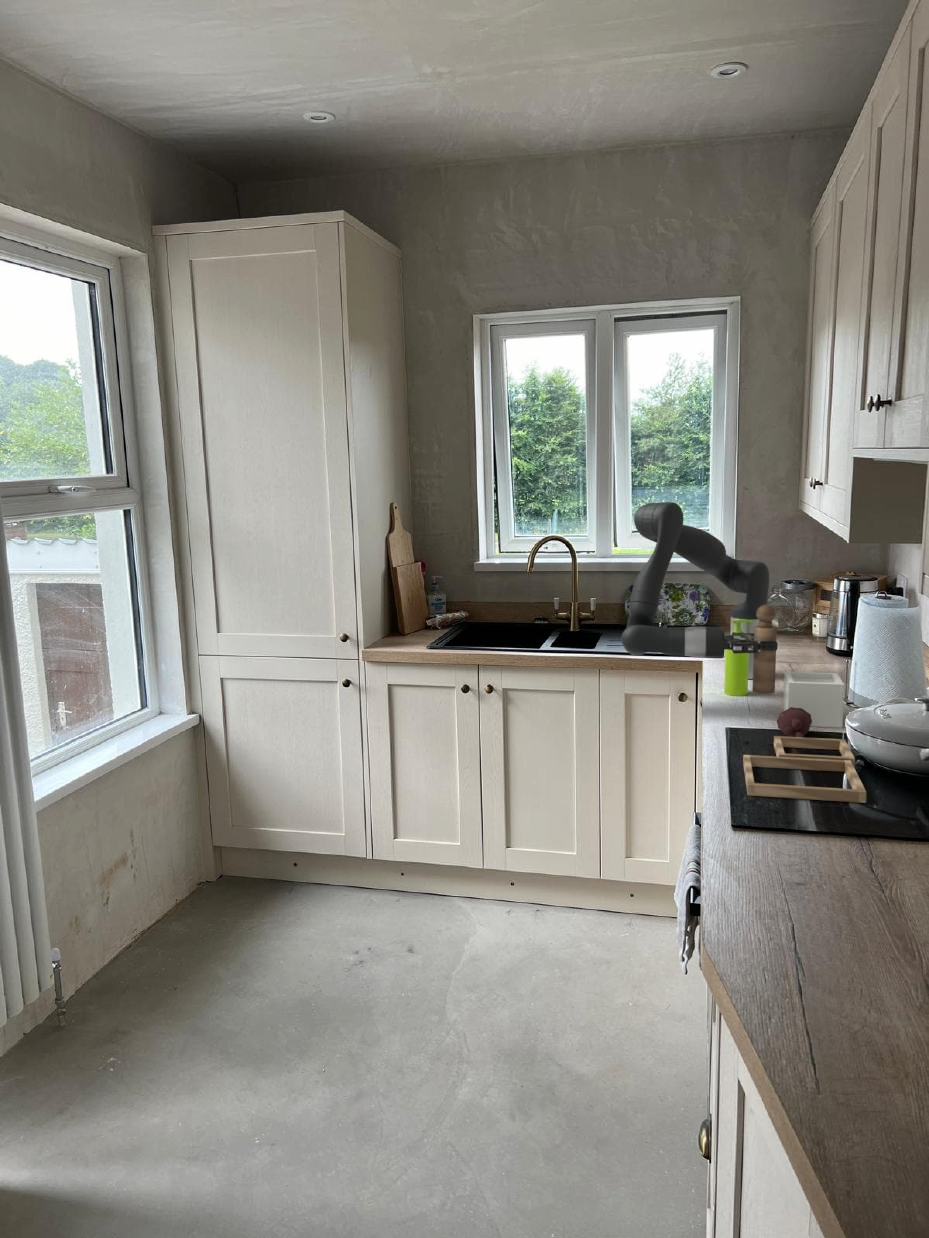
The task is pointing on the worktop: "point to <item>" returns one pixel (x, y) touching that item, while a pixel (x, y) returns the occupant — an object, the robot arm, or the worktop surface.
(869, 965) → the worktop surface
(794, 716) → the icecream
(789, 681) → the plinth
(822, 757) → the frame
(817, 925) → the worktop surface
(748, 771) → the frame
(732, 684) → the soap dispenser
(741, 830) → the worktop surface
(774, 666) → the pepper mill
